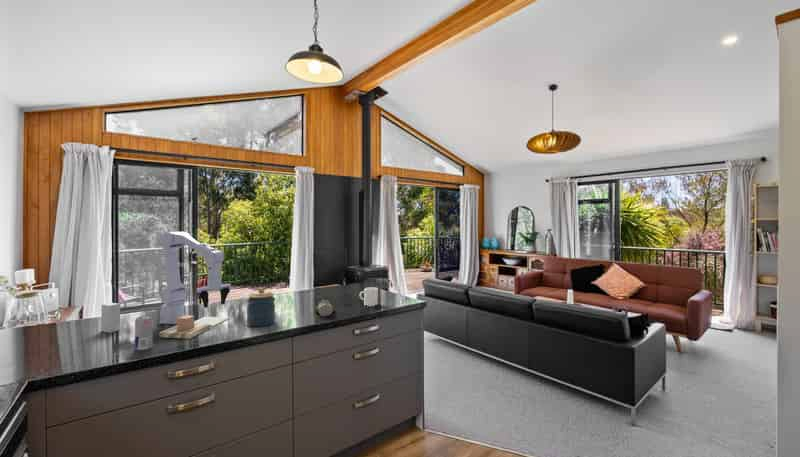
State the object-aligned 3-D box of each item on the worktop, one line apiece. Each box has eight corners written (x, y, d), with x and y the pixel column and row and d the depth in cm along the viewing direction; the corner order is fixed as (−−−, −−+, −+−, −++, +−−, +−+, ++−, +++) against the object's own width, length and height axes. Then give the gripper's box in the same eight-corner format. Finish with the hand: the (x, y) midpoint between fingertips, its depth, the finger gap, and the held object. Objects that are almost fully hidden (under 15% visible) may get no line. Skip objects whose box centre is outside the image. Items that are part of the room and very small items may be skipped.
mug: (356, 305, 204) (356, 288, 204) (373, 302, 211) (373, 286, 211) (362, 307, 198) (362, 291, 197) (380, 305, 205) (380, 289, 204)
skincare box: (120, 330, 153) (120, 303, 152) (110, 333, 148) (109, 305, 148) (111, 328, 155) (111, 302, 154) (100, 331, 150) (100, 304, 150)
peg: (177, 334, 149) (177, 318, 148) (184, 330, 153) (184, 315, 153) (187, 334, 148) (187, 318, 148) (194, 331, 153) (194, 315, 153)
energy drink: (141, 345, 134) (141, 315, 134) (155, 345, 135) (155, 315, 135) (131, 351, 129) (131, 319, 129) (146, 350, 130) (146, 319, 129)
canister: (241, 323, 165) (242, 287, 165) (267, 318, 175) (267, 284, 174) (253, 329, 156) (253, 291, 156) (280, 323, 166) (280, 287, 165)
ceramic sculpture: (315, 301, 176) (313, 296, 190) (315, 318, 175) (313, 312, 189) (336, 300, 179) (332, 295, 193) (336, 316, 179) (332, 311, 193)
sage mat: (187, 325, 161) (187, 324, 161) (205, 317, 174) (205, 316, 174) (213, 326, 160) (213, 325, 160) (229, 318, 173) (229, 317, 172)
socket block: (159, 337, 144) (159, 332, 144) (182, 327, 158) (182, 322, 158) (189, 338, 143) (189, 333, 143) (210, 328, 157) (210, 324, 157)
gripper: (201, 279, 150) (201, 310, 150) (234, 275, 162) (234, 304, 162) (194, 277, 154) (194, 307, 155) (227, 274, 166) (226, 301, 166)
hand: (214, 305), depth 159 cm, fingers open, 7 cm apart
